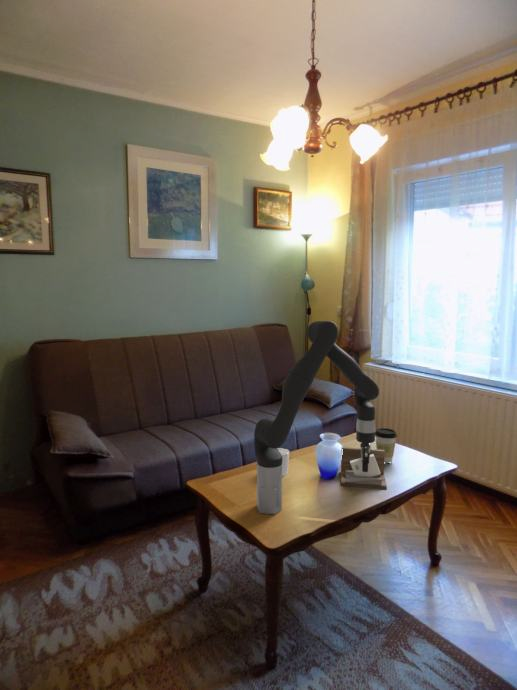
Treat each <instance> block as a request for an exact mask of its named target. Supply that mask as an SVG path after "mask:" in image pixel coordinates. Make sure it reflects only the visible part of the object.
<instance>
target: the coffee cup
mask: <svg viewBox="0 0 517 690" xmlns="http://www.w3.org/2000/svg"><path fill="white" fill-rule="evenodd" d="M397 437H398V434H397V433H396V430H394V429H392V428H388V427H387V428H385V427H380V428H377V429H375V446H376V447H375V448H376V449H377V450H385V455H384V462H385V463H389V462H392V461H393V457H394V454H395V449H396V447H395V446H396V438H397Z"/></svg>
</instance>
